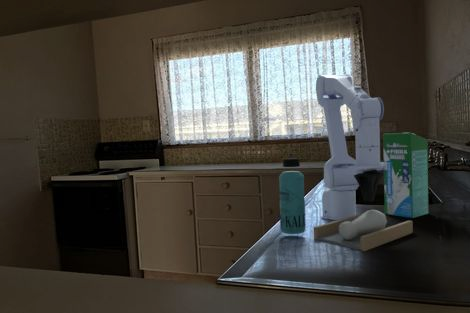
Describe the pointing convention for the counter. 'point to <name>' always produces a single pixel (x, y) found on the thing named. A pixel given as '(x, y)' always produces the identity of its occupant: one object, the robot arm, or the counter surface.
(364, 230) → the salt shaker
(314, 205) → the counter surface
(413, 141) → the milk carton
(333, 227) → the tan u-shaped piece
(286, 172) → the beverage bottle
